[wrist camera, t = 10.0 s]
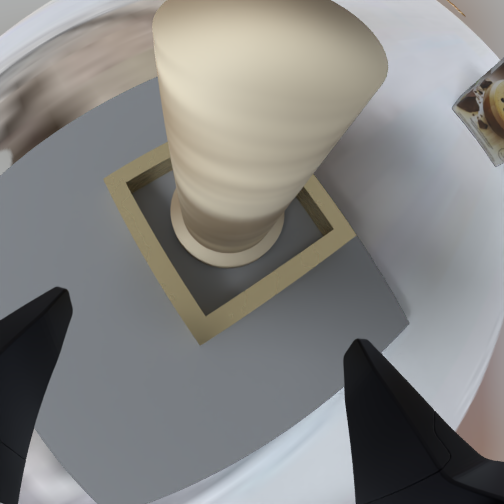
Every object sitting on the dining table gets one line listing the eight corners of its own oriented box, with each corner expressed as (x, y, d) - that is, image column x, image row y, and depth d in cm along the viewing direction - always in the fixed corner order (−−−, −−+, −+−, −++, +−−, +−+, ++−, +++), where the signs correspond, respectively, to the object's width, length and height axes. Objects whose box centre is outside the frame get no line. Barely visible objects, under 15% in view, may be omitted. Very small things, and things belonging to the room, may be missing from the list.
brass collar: (344, 241, 17) (356, 235, 15) (200, 342, 14) (200, 346, 13) (250, 116, 17) (254, 102, 16) (110, 189, 15) (102, 178, 14)
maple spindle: (293, 252, 16) (456, 131, 4) (186, 281, 15) (124, 170, 3) (262, 158, 17) (334, -18, 5) (163, 179, 16) (124, -15, 4)
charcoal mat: (402, 323, 17) (409, 323, 16) (112, 509, 11) (110, 515, 10) (210, 63, 19) (211, 56, 18) (-37, 221, 13) (-43, 219, 12)
